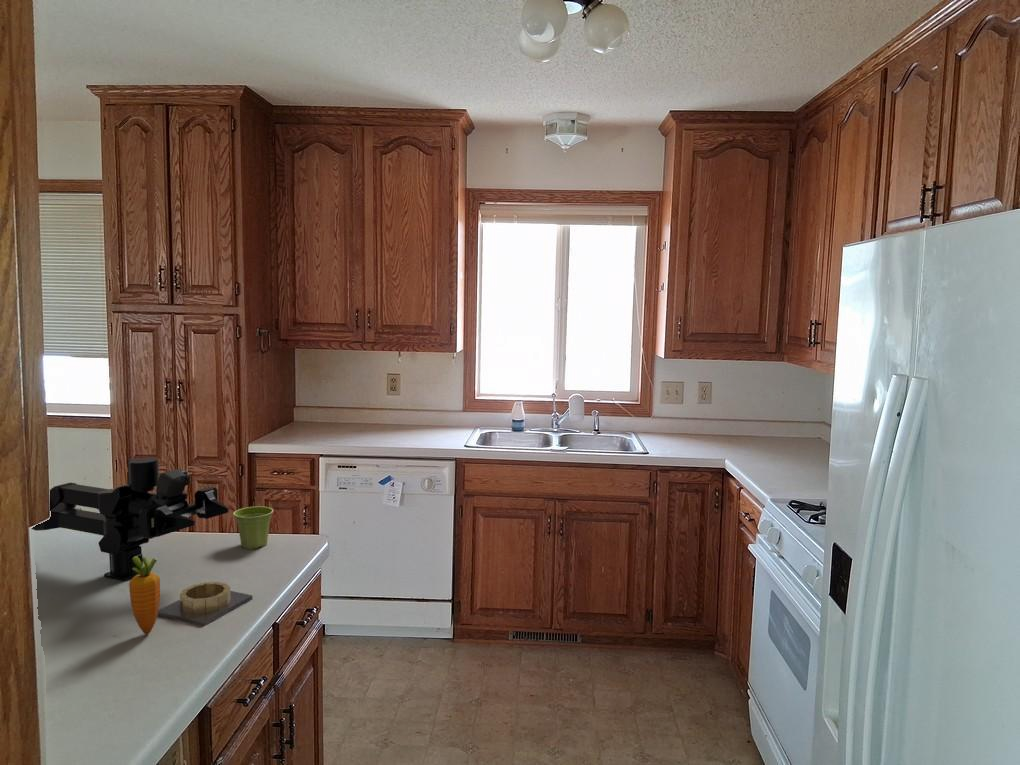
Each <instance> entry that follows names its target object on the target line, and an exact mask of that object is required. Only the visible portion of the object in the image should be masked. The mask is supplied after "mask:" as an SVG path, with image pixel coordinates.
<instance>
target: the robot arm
mask: <svg viewBox="0 0 1020 765" xmlns="http://www.w3.org/2000/svg"><path fill="white" fill-rule="evenodd" d="M159 466H160V465H159V458H158V457H155V456H154V457H152V456H151V457H144V458H130V459H127V461H126V467H127V478H128V479H127V480H128V481H127V482H128V484H126V485H122V486H118V487H116V488H103V487H97V486H90V485H85V484H83V485H82V484H77V483H76V482H66V483H62V484H59V485H55V486H53V487H52V488H50V489H49V491H50V511H51V517H50V519H49V520H47V521H45V522H43V523H41V524H38V525H36V526H35V527H33V528H31V530H33V531H48V530H49V531H50V530H54V529H65V530H66V529H67V530H72V531H76V532H77V531H78V532H83V533H88V534H91V535H97V536H102V537H101V539H100V540H99V541H98V546H99V550H100V552H101V553H106V554H108V555H109V556H108V557H109V571H108V572H106V573H103V576H104V577H105V578H110V579H116V580H120V581H127V580H130V579H132V578H133V577H135V576H136V575H138V573H137V572H135V571H134V570H132V569H133V568H137V569H139V568H138V567H137V565H136V564H135V563H134V561H133V560H132V559H133V558H134V557H135V556H138V558H139V559H140V561H141V562H142V564H143V565H144V563H143V560H142V558H143V556H144V555H143V552H142V551H143V550H142V545H144V544H148V543H149V542H150V540H152V539H153V538H158V537H162V536H164V535H169V534H171V533H175V532H178V531H180V530H183V529H187V528H191V527H194V526H195V524H196V523H195V520H194V519H193V518H190V517H191V516H194V515H196V517H198V518H199V519H205V520H208V519H211V518H215V517H218V516H221V515H225V514H228V513H229V507H228V506H227V505H225V504H223V503H222V502H221V501H219V498H218V493H219V492H218V489H217V487H212V486H207V487H204V488H201V489H199V490H197V491H195V493H194V502H191V503H189V502H188V501H187V499H188V492H184V491H185V489H186V488H185V487H187V486H189V485H190V480H191V473H190V472H188V471H187V470H186V469H183V470H182V469H177V468H175V469H172V470H168V471H164V472H161V474H160V473H159V472H160V471H159V470H160V468H159ZM155 487H156V488H155ZM154 490H156V491H155V493H153V492H151V491H154ZM77 506H78V507H85V508H92V509H96V510H98V511H99V512H94V511H89V510H84V509H77V508H76V507H77Z"/></svg>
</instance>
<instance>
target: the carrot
mask: <svg viewBox="0 0 1020 765" xmlns="http://www.w3.org/2000/svg"><path fill="white" fill-rule="evenodd" d="M132 560H133V561H134V563H135V564H136V565H137V567H138V568H139V569H137V568H133V569H132V570H134V571H135V572H137V573H138V575H136V576H134V577H132V578H130V579H129V583H128V588H129V598H130V604H131V608H132V609H131V610H132V613H133V616H134V618H135V621H136V623H137V625H138V627H139V629H140V630H141V631H142V632H143V634H144V635H147V636H148V635H149V634H150V633H151V632H152V629H153V628H154V626H155V624H156V621H157V618H158V616H159V615H158V610H159V609H160V601H161V598H160V597H161V579H160V576H159V575H157V574H156V573H154V572H152V570H153V567H154V566H155V564H156V563H157V561H158V559H157V558H155V557H153V558H152V559H151V560H150V562H149V559H148V558H147V557H145V556H144V557H143V558H142V560H143V564H142V562H141V561H140V559H139V558H138V556H135V557H134V558H133V559H132Z"/></svg>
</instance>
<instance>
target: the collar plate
mask: <svg viewBox="0 0 1020 765" xmlns="http://www.w3.org/2000/svg"><path fill="white" fill-rule="evenodd" d="M252 600H253V595H252V594H248V593H244V592H238V591H233V590H231V587H230V586H229V584H227V583H225V582H222V581H220V582H219V581H207V582H201V583H196V584H193V585H190V586H188V587H186V588H184V589H183V590H181V592H180V593H179V599H177V600H176V601H173V602H171V603H170V604H168V605H166V606H164V607H162V608H159V610H158V615H157V616H160V617H164V618H167V619H168V618H169V619H173V620H176V621H180V622H181V621H182V622H184V623H185V622H186V623H188V624H193V625H198V626H203V627H205V626H207V625H208V624H210V623H212V622H214V621H216V620H217V619H219V618H221V617H223V616H225V615H226V614H228V613H230V612H232V611H234V610H235V609H237V608H239V607H241V606H243V605H245V604H246V603H247V602H250V601H252Z"/></svg>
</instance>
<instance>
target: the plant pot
mask: <svg viewBox="0 0 1020 765" xmlns="http://www.w3.org/2000/svg"><path fill="white" fill-rule="evenodd" d="M272 514H274V508H272V507H268V506H248V507H247V506H246V507H243V508H239V509H236V510H235V511H233V517H234V518H235V521H236V523H237V528H238V533H239V538H240V540H239V541H240V544H241V547H243V548H245V549H258V548H259V547H265V546H267V544H268V538H269V532H270V525H271V524H270V522H271V518H272Z"/></svg>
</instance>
